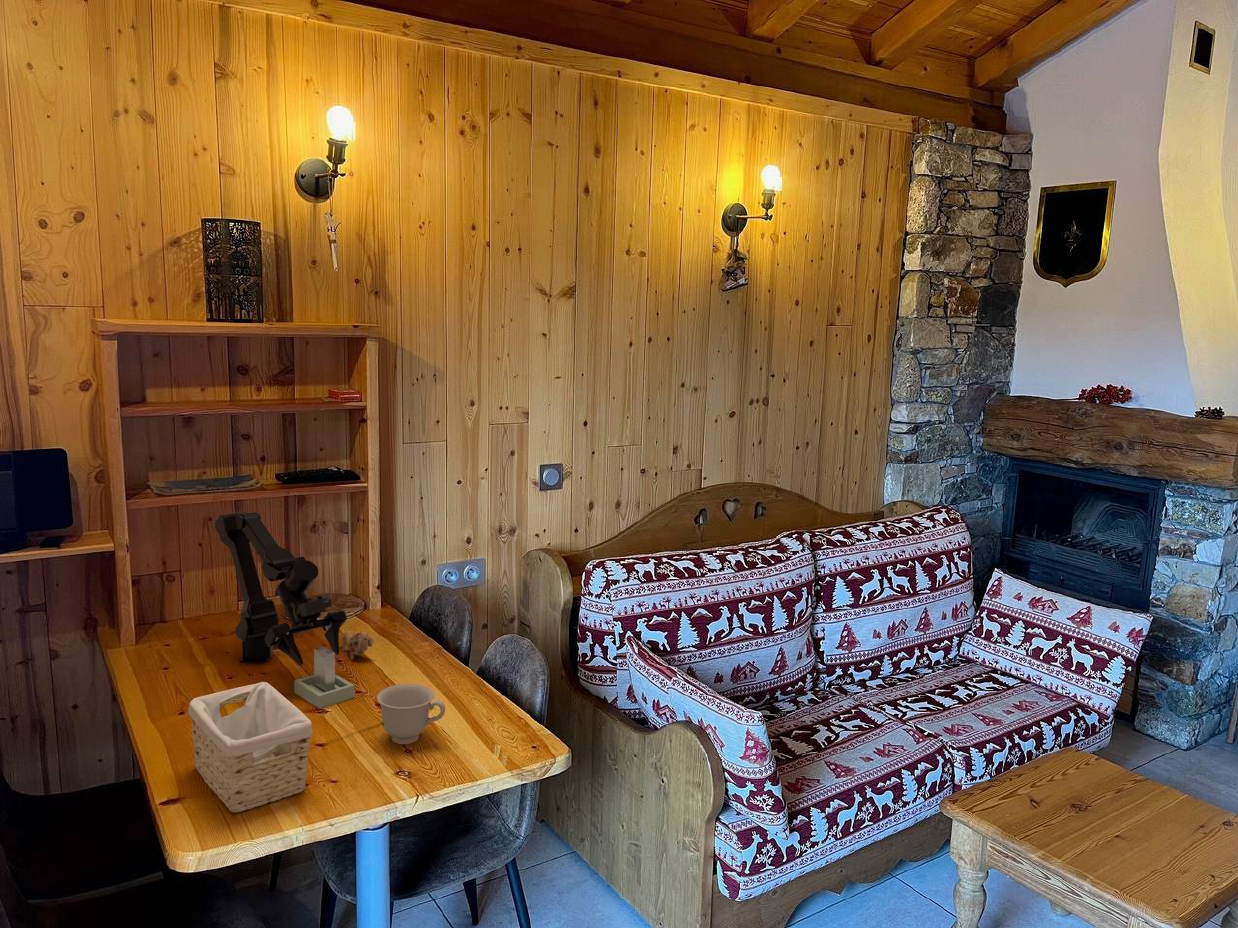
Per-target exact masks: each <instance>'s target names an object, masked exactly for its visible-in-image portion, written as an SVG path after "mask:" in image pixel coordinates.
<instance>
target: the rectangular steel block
mask: <svg viewBox="0 0 1238 928" xmlns="http://www.w3.org/2000/svg"><path fill="white" fill-rule="evenodd" d="M335 674H336V654H335V652H333V650H332V649H330V648H328V647H326V646H324V645H322V646H319V647H316V648H315V647H314V648H313V675H314V687H316V688H318V689H319V690H321V691H322V692H327V691H331V690H334V689H335Z"/></svg>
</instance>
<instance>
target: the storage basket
mask: <svg viewBox="0 0 1238 928" xmlns="http://www.w3.org/2000/svg"><path fill="white" fill-rule="evenodd" d="M242 702H244V704H243V705H242V706H240V707H238V708H237V709H235V710H234V711H232V713H230V714H229V715H228V714H227V715H223V716H222V714H221V709H220V707H226V706H227V705H230V704H236V703H242ZM188 715H189V716H190V718H191V731H192V733H191V739H192V741H193V743H192V744H193V745H192V749H193V752H194V754H193V755H194V756H193V758H194V767H195V769H196V770H197V771H198V773H199V774H200V776H201V777H202V778H203V780H204V782H205V783H206V784H207V786H208V788H210V789H211V790H212V791H213V792H214V794H215V795H216V796H218V798H219V799H220V800H221V802H222V803H223V804H224V805H225V807H226V808H228V810H229V811H230V812H231V813H234V814H235V813H240V812H244V811H247V810H251V809H255V808H256V807H261V806H264V805H266V804H268V803H270V802H271V803H273V801H274V802H276V800H277V801H279V800H281V799H282V798H283V799H284V798H288V797H289V798H290V797H291V796H293V795H295V794H299V793H302V792H303V791H304V790H305V789H306V787H307V786H306V785H307V784H306V783H307V777H308V774H307V773H308V766H309V765H308V764H309V755H310V752H309V751H310V747H311V740H312V738H311V737H312V736H313V728H312V727H313V726H312V725H313V724H312V721H311V720H310V718H308V716H307V715H305V713H303V712H302V711H301V710H300V709H299V708H298V707H297V706H295V705H294V704H293V703H292V702H291V701H289V699H287V698H286V697H285V696H284V695H283V694H282V693H280V692H279V691H278V690H277V689H276V688H275V687H274V686H272V685H271V684H270V683H268V682H266V681H260V682H258V683H253V684H248V685H244V686H240V687H234V688H231V689H225V690H222V691H218V692H214V693H211V694H206V695H201V696H197V697H195V698H193V699H192V700H191V701H190V702H189V706H188Z"/></svg>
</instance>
